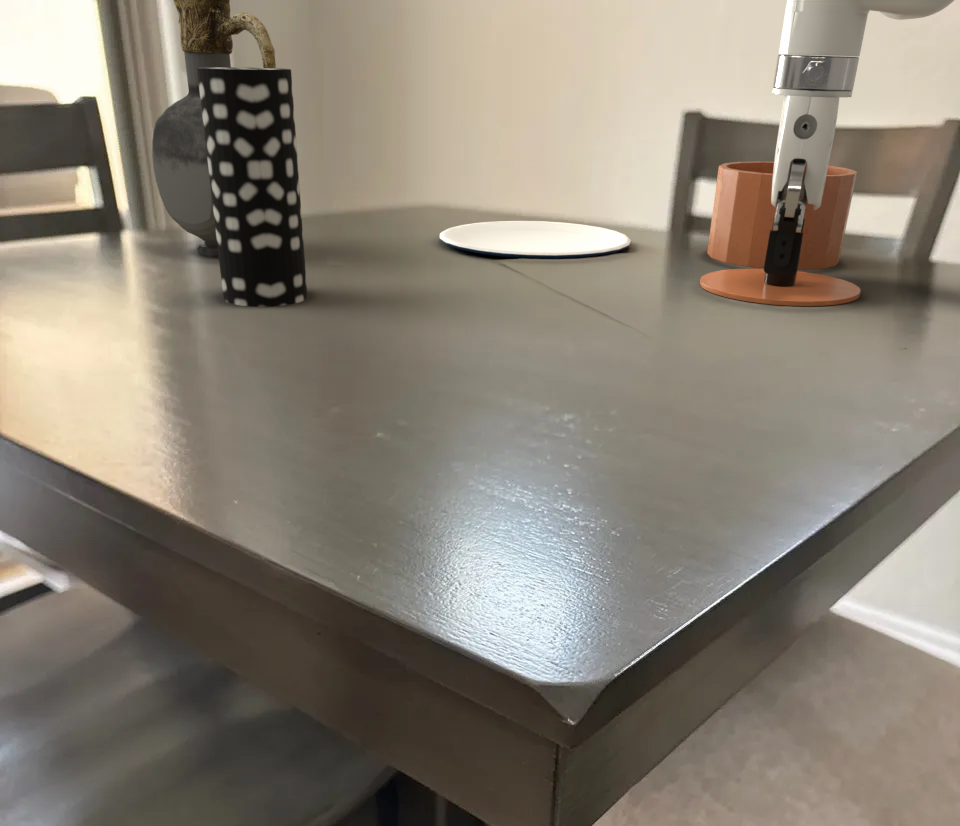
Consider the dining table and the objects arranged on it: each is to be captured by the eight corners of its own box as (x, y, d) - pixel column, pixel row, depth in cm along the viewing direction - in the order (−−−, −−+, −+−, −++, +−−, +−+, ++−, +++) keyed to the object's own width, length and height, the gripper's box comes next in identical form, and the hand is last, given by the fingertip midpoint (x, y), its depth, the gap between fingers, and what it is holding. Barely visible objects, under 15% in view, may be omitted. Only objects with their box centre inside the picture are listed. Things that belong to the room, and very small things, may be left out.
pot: (785, 248, 129) (800, 160, 124) (864, 270, 117) (885, 174, 111) (684, 253, 124) (695, 162, 119) (755, 277, 112) (771, 177, 106)
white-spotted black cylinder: (323, 294, 100) (308, 69, 89) (276, 311, 93) (254, 70, 83) (256, 286, 103) (234, 66, 92) (206, 301, 96) (176, 67, 86)
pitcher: (226, 239, 126) (195, -42, 110) (323, 260, 116) (305, -48, 100) (152, 250, 119) (109, -49, 103) (249, 273, 109) (217, -57, 93)
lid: (793, 275, 114) (803, 223, 111) (892, 306, 100) (906, 248, 98) (670, 283, 108) (676, 229, 105) (757, 317, 95) (767, 256, 92)
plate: (525, 272, 112) (525, 260, 111) (401, 240, 128) (401, 230, 128) (671, 250, 126) (672, 240, 125) (541, 224, 142) (542, 215, 141)
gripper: (857, 82, 86) (817, 284, 95) (852, 78, 100) (817, 254, 109) (770, 79, 88) (739, 277, 97) (777, 75, 102) (749, 248, 111)
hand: (780, 264), depth 103 cm, fingers open, 9 cm apart
